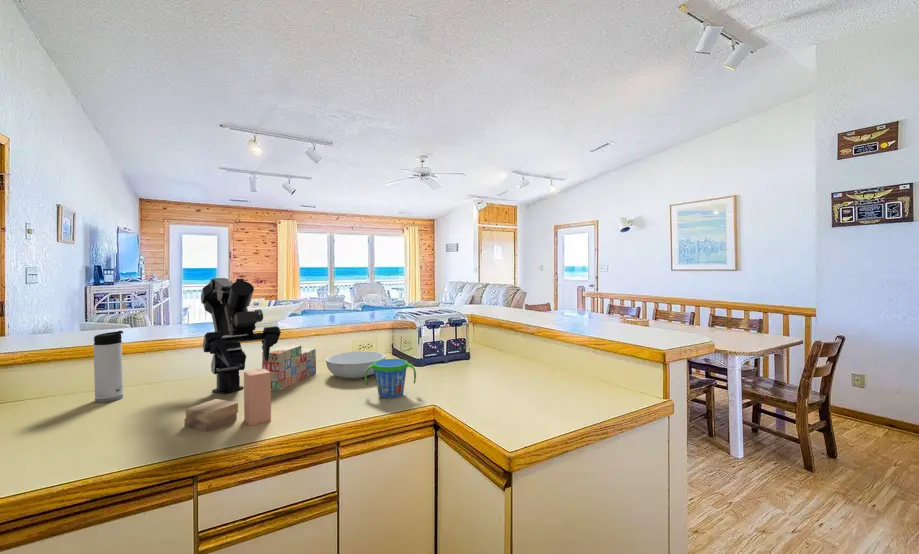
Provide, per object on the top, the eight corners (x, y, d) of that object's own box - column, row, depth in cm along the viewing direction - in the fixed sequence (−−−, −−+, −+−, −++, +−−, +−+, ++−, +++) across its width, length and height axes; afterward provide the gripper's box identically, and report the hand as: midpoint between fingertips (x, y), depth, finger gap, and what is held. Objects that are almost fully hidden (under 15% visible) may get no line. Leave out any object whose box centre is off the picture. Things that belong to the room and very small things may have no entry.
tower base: (184, 428, 99) (184, 418, 98) (215, 417, 106) (215, 408, 106) (206, 434, 95) (206, 423, 95) (236, 422, 103) (236, 412, 103)
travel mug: (125, 398, 119) (124, 331, 118) (96, 404, 114) (94, 334, 113) (122, 394, 123) (121, 329, 123) (93, 399, 118) (92, 332, 118)
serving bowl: (367, 365, 160) (367, 348, 160) (396, 376, 145) (396, 357, 145) (316, 374, 146) (316, 356, 146) (342, 387, 131) (342, 366, 131)
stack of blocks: (301, 372, 149) (301, 339, 149) (316, 373, 148) (316, 340, 148) (262, 389, 128) (261, 351, 128) (279, 391, 127) (279, 352, 127)
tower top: (185, 418, 98) (185, 408, 98) (216, 408, 106) (215, 398, 106) (208, 423, 96) (208, 413, 95) (238, 412, 103) (238, 402, 103)
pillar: (244, 420, 103) (243, 371, 102) (265, 415, 106) (264, 368, 106) (249, 425, 99) (249, 375, 99) (271, 420, 102) (270, 372, 102)
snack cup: (361, 400, 118) (360, 366, 118) (369, 389, 128) (369, 358, 128) (413, 401, 118) (413, 366, 117) (417, 390, 128) (418, 358, 128)
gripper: (204, 302, 105) (213, 350, 97) (278, 298, 118) (291, 341, 110) (199, 328, 111) (207, 376, 103) (270, 322, 124) (282, 364, 116)
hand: (249, 363), depth 108 cm, fingers open, 9 cm apart
